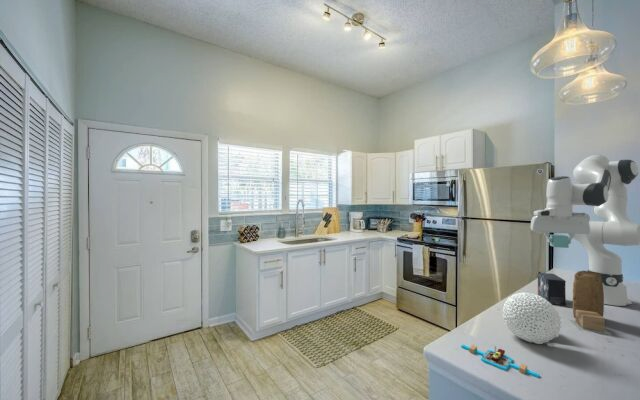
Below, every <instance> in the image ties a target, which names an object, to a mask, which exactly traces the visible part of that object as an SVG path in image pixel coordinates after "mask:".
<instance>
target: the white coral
mask: <svg viewBox="0 0 640 400" xmlns="http://www.w3.org/2000/svg"><path fill="white" fill-rule="evenodd" d="M502 319H503V322H504V325H505V326H506V327H507V330H509V331H510V332H511V333H513V335H515V336H517V337H518V338H519V339H521V340H523V341H526V342H529V343H534V344H537V345H540V344H541V345H542V344H544V343H549V342H550V341H553V339H556V338H558V337H559V336H560V332H561V328H562V325H561V324H562V320H561V317H560V314H559V312H558V310H557V308H556V307H555V306H554V305H553V304H551V303H550V302H548V301H547V300H546V299H545V298H543V297H541V296H539V295H538V294H536V293H532V292H525V291H523V292H518V293H514V294H512V295H511V296H509V297H508V298H507V299H506V300H505V302H504V305H503V308H502Z"/></svg>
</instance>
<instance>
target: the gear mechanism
mask: <svg viewBox="0 0 640 400" xmlns="http://www.w3.org/2000/svg"><path fill="white" fill-rule="evenodd" d="M461 349H464V350H467V351H468V352H469V353H471V354H473V355H474V354H477V355H479V356H481V357H480V361H482V362H483V363H484V364H485V363H486V364H488V365H490V366H493V367H496V368H497V369H499V370H503V371H508V369H509V368H512V369H516V370H517V371H518V373H522V374H528V375H530V376H533V377H536V378H538V379H539V377H540V373H537V372H534V371H532V370H529V369H528V365H527V364H524V363H521V364H520V366H519V365H518V364H515V363H513V362H514V359H513V358H512V357H510V356H508V355H506V354H505V352H506V351H505V350H504V349H502V348H498V349H497V346H496V345H494V350H492V349H488V350H486V352H483V351H481V350H479V349H478V346H476V345H475V344H472V345H471V346H468V345H466V344H461Z"/></svg>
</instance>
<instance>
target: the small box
mask: <svg viewBox="0 0 640 400" xmlns="http://www.w3.org/2000/svg"><path fill="white" fill-rule="evenodd" d="M537 295H539V296H541V297H543V298H545V299H546V300H547V301H548V302H550V303H551V304H552V305H557V306H563V307H564V306H565V307H566V306H567V305H566V304H567V303H566V297H567V296H566V280H565V279H563V278H562V277H560V276H558V275H557V274H556V273H549V272H537Z"/></svg>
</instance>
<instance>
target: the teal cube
mask: <svg viewBox="0 0 640 400" xmlns="http://www.w3.org/2000/svg"><path fill="white" fill-rule="evenodd" d="M549 237H550V238H551V239H553V242H552V243H549V246H550V247H553V248H565V249H569V246H570V245H569V237H570V236H569V235H568V236H567V235H565V234H564V235H563V234H550V235H549Z"/></svg>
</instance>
